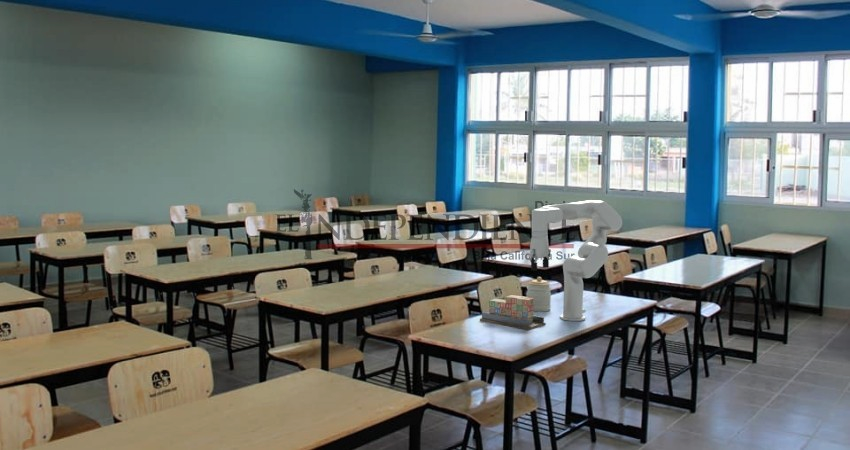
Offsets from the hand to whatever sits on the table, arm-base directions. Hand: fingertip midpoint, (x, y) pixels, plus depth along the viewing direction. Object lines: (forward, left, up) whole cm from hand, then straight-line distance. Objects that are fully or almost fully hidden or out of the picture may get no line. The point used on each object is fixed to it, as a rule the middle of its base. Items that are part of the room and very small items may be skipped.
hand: (540, 269), depth 369 cm
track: (+9, -9, -27) cm, 30 cm away
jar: (-28, -18, -27) cm, 43 cm away
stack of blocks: (+9, -10, -26) cm, 29 cm away
